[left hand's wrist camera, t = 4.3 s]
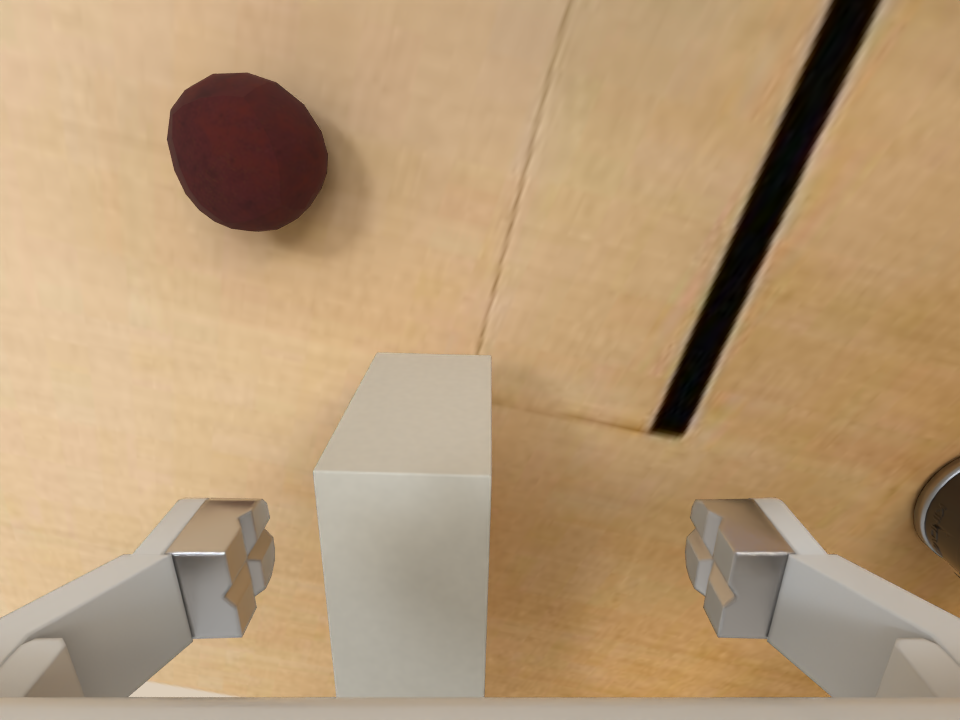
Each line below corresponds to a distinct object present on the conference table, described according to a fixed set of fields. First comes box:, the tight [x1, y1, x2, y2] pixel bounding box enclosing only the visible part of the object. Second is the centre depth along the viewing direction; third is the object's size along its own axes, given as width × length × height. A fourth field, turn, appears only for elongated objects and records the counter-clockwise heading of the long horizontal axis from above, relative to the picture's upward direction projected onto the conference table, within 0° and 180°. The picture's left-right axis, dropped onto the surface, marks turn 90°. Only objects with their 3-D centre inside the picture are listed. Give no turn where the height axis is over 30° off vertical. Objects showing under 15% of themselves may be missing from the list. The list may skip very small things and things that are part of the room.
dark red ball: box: [167, 73, 328, 232], centre depth 28 cm, size 7×8×7 cm
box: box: [313, 353, 492, 697], centre depth 29 cm, size 27×6×12 cm, turn 179°
